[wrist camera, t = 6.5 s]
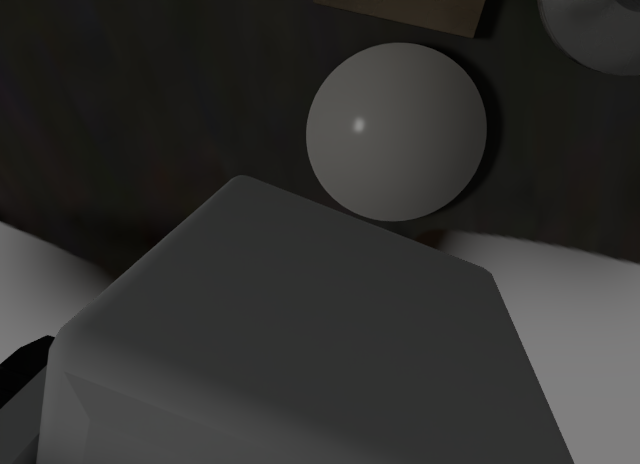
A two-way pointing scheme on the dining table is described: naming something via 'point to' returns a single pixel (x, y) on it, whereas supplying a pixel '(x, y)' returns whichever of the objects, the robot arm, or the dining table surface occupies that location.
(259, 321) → the grey piece
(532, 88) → the dining table surface
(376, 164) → the dish
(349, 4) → the balance
